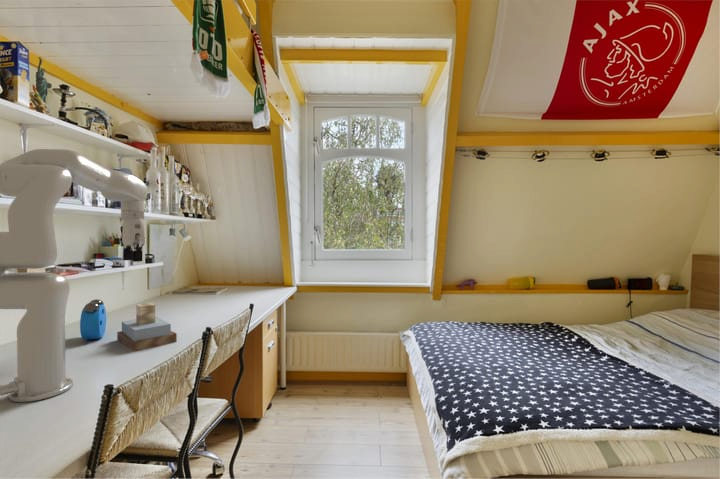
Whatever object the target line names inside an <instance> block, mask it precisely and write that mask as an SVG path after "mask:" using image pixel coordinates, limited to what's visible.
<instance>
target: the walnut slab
mask: <svg viewBox="0 0 720 479" xmlns="http://www.w3.org/2000/svg"><path fill="white" fill-rule="evenodd" d="M116 336H117V337H116V339H117V340H116V341H117V342H119V343H121V344H123V345H125V346H127V347H128V348H129V349H132V350H133V351H135V352H137V351H142V350H146V349H151V348H155V347H159V346H163V345H167V344H173V343H176V342H177V341H178V340H177V338H178V333H177V332H174V331H172V330H171V334H170V335H165V336H160V337H155V338H149V339H144V340H139V341H134V340H132V339H131V338H130V337H128V336H127V335H126V334H124V333H123V332H122V330H120V331H117V332H116ZM177 343H178V342H177Z"/></svg>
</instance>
